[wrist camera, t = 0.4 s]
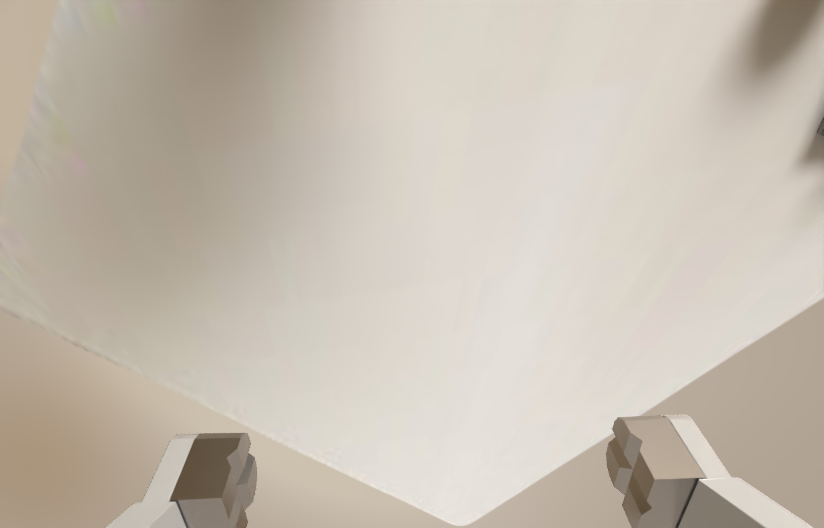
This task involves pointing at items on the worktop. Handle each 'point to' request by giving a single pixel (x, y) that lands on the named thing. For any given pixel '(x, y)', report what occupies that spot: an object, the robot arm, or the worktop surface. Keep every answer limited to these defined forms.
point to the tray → (821, 128)
